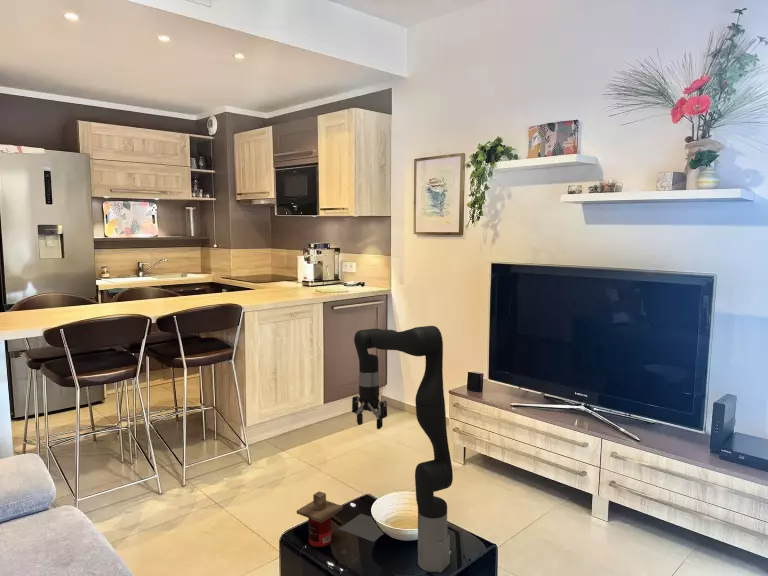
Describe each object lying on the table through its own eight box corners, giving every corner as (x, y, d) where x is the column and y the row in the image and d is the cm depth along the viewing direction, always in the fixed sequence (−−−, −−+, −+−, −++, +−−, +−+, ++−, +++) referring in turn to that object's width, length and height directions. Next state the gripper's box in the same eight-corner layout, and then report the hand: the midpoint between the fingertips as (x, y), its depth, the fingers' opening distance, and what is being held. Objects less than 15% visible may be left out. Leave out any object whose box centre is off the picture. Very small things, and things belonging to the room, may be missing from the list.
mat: (394, 526, 192) (394, 525, 192) (373, 542, 181) (373, 541, 181) (360, 514, 200) (360, 513, 200) (339, 530, 190) (339, 528, 190)
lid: (342, 508, 183) (342, 492, 182) (321, 522, 174) (321, 505, 173) (318, 500, 189) (318, 484, 188) (296, 513, 180) (296, 496, 179)
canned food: (333, 536, 186) (333, 505, 185) (329, 549, 178) (328, 517, 177) (312, 535, 187) (311, 504, 186) (306, 548, 179) (305, 516, 178)
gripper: (390, 383, 195) (391, 427, 196) (359, 378, 203) (360, 420, 204) (379, 388, 189) (379, 433, 190) (347, 382, 197) (347, 425, 198)
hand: (369, 426), depth 197 cm, fingers open, 8 cm apart
